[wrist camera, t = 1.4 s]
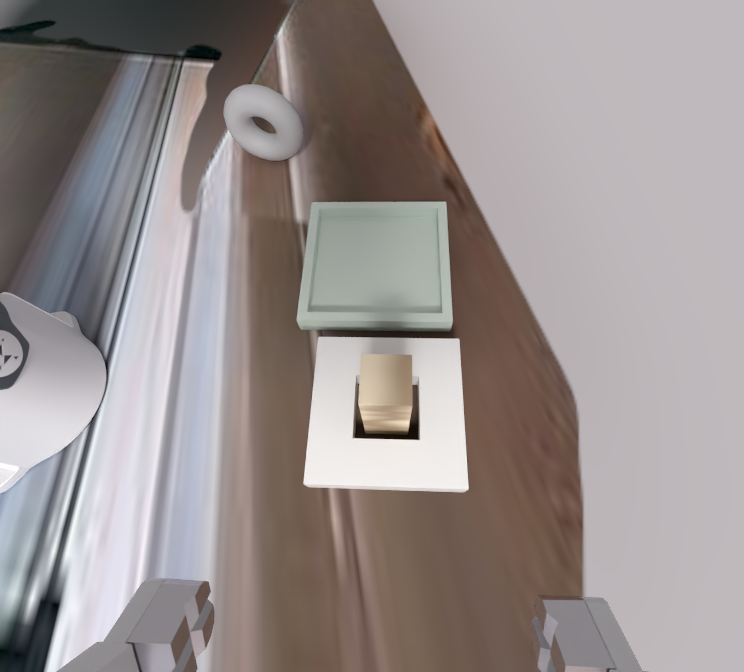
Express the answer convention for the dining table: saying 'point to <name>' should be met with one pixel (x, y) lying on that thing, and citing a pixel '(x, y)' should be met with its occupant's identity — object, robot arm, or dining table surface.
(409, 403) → the maple block
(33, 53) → the dining table surface
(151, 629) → the robot arm
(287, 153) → the donut
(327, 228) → the tray
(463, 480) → the pocket plate
